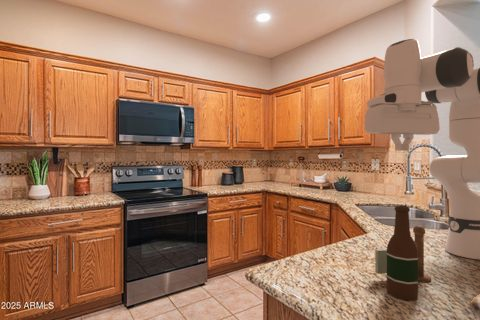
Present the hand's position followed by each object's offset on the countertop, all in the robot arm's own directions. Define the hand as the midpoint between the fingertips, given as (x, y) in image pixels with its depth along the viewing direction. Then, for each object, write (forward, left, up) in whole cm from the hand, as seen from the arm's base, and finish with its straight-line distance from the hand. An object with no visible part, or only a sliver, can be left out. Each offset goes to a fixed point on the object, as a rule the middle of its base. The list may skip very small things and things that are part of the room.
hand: (402, 150), depth 74 cm
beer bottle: (0, 0, -39) cm, 39 cm away
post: (-13, -9, -39) cm, 42 cm away
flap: (-5, -9, -37) cm, 39 cm away
